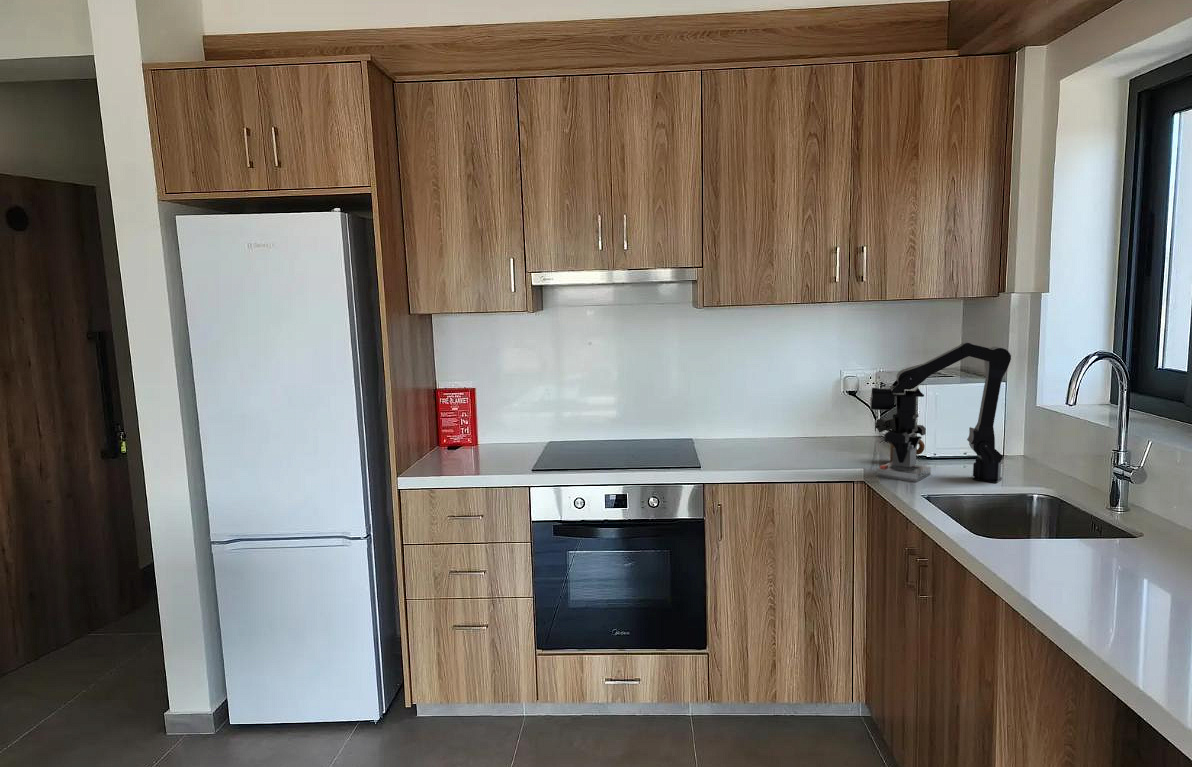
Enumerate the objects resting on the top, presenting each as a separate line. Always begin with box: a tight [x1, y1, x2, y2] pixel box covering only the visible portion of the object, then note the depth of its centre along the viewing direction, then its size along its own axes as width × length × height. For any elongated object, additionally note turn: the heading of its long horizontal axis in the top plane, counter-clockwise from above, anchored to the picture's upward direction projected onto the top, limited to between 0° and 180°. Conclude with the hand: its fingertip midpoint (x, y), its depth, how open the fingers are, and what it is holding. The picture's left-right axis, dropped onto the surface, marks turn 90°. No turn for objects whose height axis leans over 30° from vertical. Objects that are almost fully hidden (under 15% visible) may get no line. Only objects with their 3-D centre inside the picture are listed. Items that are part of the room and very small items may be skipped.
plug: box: [892, 445, 917, 467], centre depth 227 cm, size 5×5×6 cm
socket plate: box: [876, 462, 932, 483], centre depth 228 cm, size 12×12×3 cm
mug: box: [889, 439, 926, 462], centre depth 241 cm, size 12×8×9 cm, turn 26°
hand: (904, 461), depth 227 cm, fingers closed on plug, 5 cm apart
